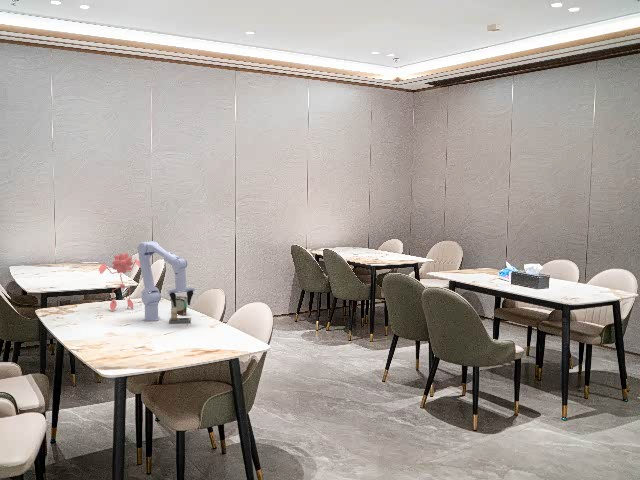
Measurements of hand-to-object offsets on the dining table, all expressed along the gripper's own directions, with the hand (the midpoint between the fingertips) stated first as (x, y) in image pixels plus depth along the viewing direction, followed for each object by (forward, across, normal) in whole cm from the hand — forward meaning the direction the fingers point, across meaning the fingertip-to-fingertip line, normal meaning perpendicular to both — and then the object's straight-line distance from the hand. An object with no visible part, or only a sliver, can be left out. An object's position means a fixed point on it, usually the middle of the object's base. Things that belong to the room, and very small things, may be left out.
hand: (182, 305), depth 338 cm
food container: (+9, +8, +29) cm, 32 cm away
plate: (+10, 0, +8) cm, 13 cm away
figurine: (+7, -21, +52) cm, 56 cm away
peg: (+8, -2, +9) cm, 13 cm away
